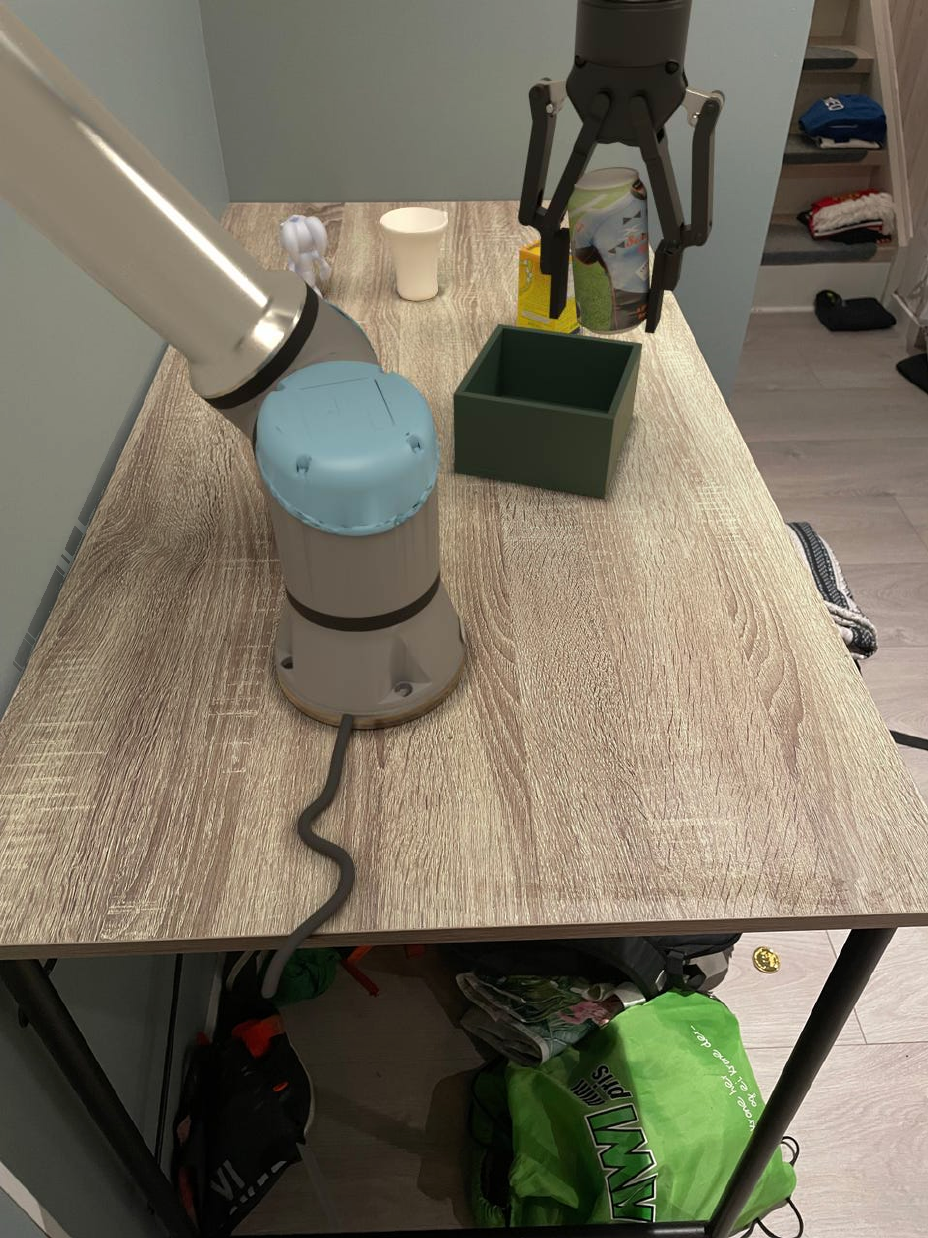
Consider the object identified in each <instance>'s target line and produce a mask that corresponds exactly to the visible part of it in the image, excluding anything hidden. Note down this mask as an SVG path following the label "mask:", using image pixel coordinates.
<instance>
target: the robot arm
mask: <svg viewBox="0 0 928 1238" xmlns="http://www.w3.org/2000/svg"><path fill="white" fill-rule="evenodd" d="M576 3H577V4H576V18H575V19H576V20H575V34H574V35H575V36H574V37H575V38H574V55H573V56H574V59H573V64H572V67H571V70H570V71H569V73H568V75H567V77H564V78H560V79H553V80H552V79H551V78H550V77H542V78H540V80H539V81H537V82H536V83H535V84H534V85H533V86H532V87H531V88H530V89H529V91H528V102H529V109H530V115H531V121H532V122H531V129H530V136H529V142H528V147H527V148H528V149H527V155H526V160H525V161H526V163H525V168H524V175H523V182H522V188H521V195H520V201H519V207H518V213H517V214H518V215H517V221H518V223H519V225H521V226H523V227H528V226H529V227H531V228H532V229H535V230H536V231H537V232H538V233H539V237H540V239H541V247H540V270H541V273H542V274H544V275H551V287H550V307H549V319H556V320H558V318H559V317H560V315H561V314H562V312H563V310H564V309H565V307H566V303H567V287H568V271H569V256H570V232H569V227H564V226H562V223H563V222H564V220H565V217H566V214H567V213H568V208H567V203H568V200H569V198H570V196H571V194H572V192H573V190H574V187H575V186H574V185H575V184H576V183H577V182H578V181H579V180H580V178H581V177H582V176H583V174H584V173H586V171H587V168H588V166H589V163H590V161H591V159H592V157H593V155H594V152H595V150H596V148H597V146H598V144H599V145H600V144H601V145H610V144H616V143H619V144H622V145H624V146H627V147H632V148H639V151H640V156H641V159H642V162H643V163H644V165H645V168H646V172H647V175H648V179H649V184H650V188H651V192H652V196H653V201H654V204H655V208H656V213H657V216H658V220H659V224H660V228H661V229H660V230H661V233H662V236H663V238H661V240H660V242H659V243H658V245H657V248H656V249H655V251H654V256H653V263H652V271H651V277H650V294H649V302H648V310H647V318H646V320H645V327H644V333H646V334H655V333H656V330H657V328H658V325H659V324H660V321H661V318H662V311H663V304H664V297H665V291H668V292H674V290H675V289H676V287H677V285H678V283H679V281H680V279H681V273H682V266H683V260H684V253H685V250H686V249H687V248H690V247H694V246H695V247H698V248H700V247H702V246H704V245H705V244H706V243H707V241H708V239H709V237H710V235H711V232H712V229H713V216H714V215H713V214H714V182H715V155H716V154H715V152H716V151H715V150H716V127H717V125H718V121H719V118H720V116H721V113H722V111H723V107H724V105H725V102H726V95H725V94H724V92H723V91H722V90H720V89H714V90H712V91H711V92H709V91H705V90H701V89H698V88H697V87H696V88H695V87H692V86H689V80H688V78H687V75H686V71H685V70H686V69H685V60H686V58H685V57H686V51H687V44H688V35H689V28H690V18H691V14H692V13H691V12H692V5H693V0H577V2H576ZM565 98H568V100H569V101H570V103H571V104H572V106H573V108H574V110H575V112H576V114H577V115H578V117H579V119H580V121H581V123H582V126H581V128H580V130H579V133H578V135H577V137H576V140H575V142H574V144H573V147H572V151H571V153H570V156H569V158H568V160H567V163H566V165H565V167H564V170H563V172H562V174H561V176H560V178H559V181H558V184H557V186H556V188H555V191H554V193H553V195H552V197H551V200H550V202H549V205H548V207H547V208H546V207H544V206H543V201H544V197H545V190H546V185H547V179H548V173H549V167H550V161H551V155H552V149H553V145H554V137H555V132H556V131H555V130H556V125H557V118H558V114H559V113H560V111H562V109H563V107H564V102H565ZM680 106H683V107H684V108H685V109H686V111H687V112H686V113H687V116H686V117H687V120H686V121H687V123H688V125H689V126H690V127H691V128H694V131H693V136H692V141H691V143H692V144H691V188H690V189H691V192H690V193H691V195H690V197H691V199H690V223H688V224H687V223H686V219H685V215H684V211H683V206H682V202H681V197H680V194H679V189H678V185H677V181H676V176H675V172H674V168H673V167H674V166H673V164H672V159H671V155H670V150H669V138H668V134H667V129H666V123H667V122H668V121H669V120H670V118H671V117H672V116H674V114H675V112H677V110H678V109H679V108H680ZM0 201H1V202H2V203H4V204H5V205H6V206H7V207H9V208H10V209H11V210H12V211H13V212H14V213H15V214H16V215H17V216H19V217H20V218H21V219H22V220H24V222H26V223H28V225H29V226H30V227H32V228H33V229H34V230H35V231H37V232H38V233H39V234H40V235H41V236H42V237H43V238H45V239H46V240H47V242H49V243H50V244H51V245H53V246H54V247H55V248H56V249H58V250H59V251H60V252H61V253H62V254H63V255H64V256H66V257H67V259H69V260H70V261H72V262H73V264H75V265H76V266H78V267H79V269H81V270H82V271H83V272H84V273H85V274H87V275H88V277H90V278H91V279H93V280H94V281H96V283H97V284H98V285H100V286H101V287H102V288H103V289H104V290H105V291H107V292H108V293H109V294H110V295H111V296H113V297H114V298H115V299H116V300H117V301H119V303H121V304H122V306H124V307H125V308H126V309H128V311H130V312H131V313H132V314H134V315H135V316H136V317H137V318H138V319H139V320H141V321H142V322H144V324H145V325H146V326H147V327H149V328H150V329H151V330H153V332H155V333H156V334H157V335H158V336H159V337H161V339H163V340H164V341H165V342H167V344H169V345H170V346H171V347H172V348H173V349H175V350H176V351H177V352H178V353H179V354H180V355H182V356H183V358H185V359H186V360H187V369H188V382H189V385H190V388H191V390H192V391H193V392H194V393H195V394H196V395H197V396H198V397H199V398H201V399H202V400H203V401H205V402H206V403H207V404H208V405H210V407H211V408H213V409H214V410H215V411H217V413H219V414H220V415H221V416H222V417H224V418H225V419H226V420H228V422H230V423H231V424H232V425H233V426H235V427H236V428H237V429H238V430H239V431H240V432H241V433H242V434H243V435H245V437H246V438H247V439H248V440H249V442H250V446H251V449H252V452H253V453H252V454H253V457H254V460H255V463H256V467H257V470H258V474H259V477H260V481H261V484H262V487H263V488H262V489H263V490H264V491H263V492H264V494H265V498H266V502H267V506H268V509H269V513H270V518H271V522H272V527H273V533H274V538H275V543H276V548H277V554H278V559H279V563H280V570H281V573H282V579H283V584H284V589H285V590H284V591H285V597H284V601H283V606H282V609H281V614H280V618H279V622H278V626H277V631H276V634H275V638H274V643H273V660H274V666H275V670H276V675H277V678H278V683H279V685H280V687H281V689H282V691H283V693H284V695H285V696H286V697H287V699H288V700H289V701H290V702H291V703H292V705H294V706H295V707H296V708H297V709H299V711H301V712H302V713H303V714H305V715H307V716H309V717H310V718H312V719H314V720H317V721H319V722H321V723H324V724H327V725H331V726H334V727H338V730H337V735H336V738H335V742H334V746H333V749H332V753H331V758H330V762H329V768H328V773H327V778H326V782H325V784H324V788H323V790H322V791H321V794H319V796H318V797H317V798H316V799H315V800H314V801H313V802H311V803H310V804H309V805H308V806H307V807H306V808H305V809H304V810H303V811H302V813H301V814H300V816H299V817H298V820H297V826H296V827H297V832H298V835H299V837H300V839H301V840H302V842H303V843H305V845H306V846H307V847H310V848H311V849H312V850H315V852H318V853H321V854H323V855H324V856H327V857H329V858H331V859H333V860H334V861H335V862H336V863H338V865H339V866H340V879H339V883H338V885H337V887H336V890H335V891H334V893H333V894H332V895H331V897H330V898H329V899H328V900H327V901H326V902H325V903H324V904H322V905H321V906H320V907H319V908H318V909H317V910H315V912H313V914H311V915H310V916H309V917H307V918H306V919H305V920H304V921H303V922H302V923H301V924H300V925H298V927H296V928H295V929H294V930H293V931H292V932H291V933H290V934H289V935H288V936H287V937H286V939H285V940H284V941H283V942H282V944H280V946H279V947H278V949H277V950H276V952H275V954H274V955H273V957H272V959H271V960H270V963H269V965H268V968H267V970H266V972H265V975H264V978H263V982H262V986H261V991H260V992H261V996H262V998H264V999H266V1000H267V999H270V998H272V997H273V996H274V995H276V992H277V988H278V986H279V982H280V978H281V976H282V973H283V971H284V968H285V966H286V964H287V963H288V961H289V960H290V958H291V957H292V955H293V954H294V953H295V951H296V950H297V949H298V948H299V947H300V946H301V944H303V943H304V941H306V940H307V939H308V938H309V937H311V935H312V934H313V933H314V932H316V930H318V929H319V928H320V927H321V926H323V925H324V924H325V923H326V922H327V921H328V920H329V919H331V917H333V915H335V914H336V913H337V912H338V911H339V910H340V908H341V907H342V906H343V904H344V903H345V902H346V900H347V899H348V897H349V896H350V894H351V892H352V889H353V886H354V882H355V874H356V873H355V872H356V869H355V864H354V860H353V858H352V857H351V855H350V853H348V852H347V851H346V849H344V848H342V846H339V845H338V844H335V843H334V842H332V841H329V840H327V839H325V838H323V837H321V836H320V835H318V834H316V833H315V832H313V830H312V826H311V825H312V824H311V823H312V821H313V820H314V819H315V818H316V817H317V816H318V815H319V814H320V813H322V812H323V811H324V810H325V809H326V808H327V807H328V806H329V805H330V804H331V802H332V801H333V799H334V797H335V795H336V793H337V790H338V787H339V785H340V781H341V778H342V777H341V776H342V772H343V763H344V759H345V755H346V750H347V747H348V743H349V739H350V735H351V731H352V730H375V729H384V728H389V727H394V726H398V725H403V724H404V723H408V722H411V721H413V720H415V719H418V718H420V717H421V716H423V715H426V714H427V713H429V712H431V711H432V710H433V709H435V708H437V706H439V705H440V704H441V703H443V702H444V701H445V700H446V699H447V697H449V696H450V694H451V693H452V692H453V691H454V690H455V688H456V687H457V685H458V683H459V681H460V679H461V678H462V675H463V673H464V669H465V665H466V664H465V663H466V645H467V640H466V633H465V627H464V626H465V625H464V620H463V619H464V618H463V616H462V614H461V612H460V609H459V608H457V609H458V613H457V611H456V609H455V607H454V605H453V602H452V600H451V598H450V596H449V594H448V591H447V589H446V587H445V585H444V583H443V581H442V578H441V553H440V552H441V551H440V513H439V511H440V510H439V509H440V508H439V477H438V476H439V467H440V462H441V456H440V455H441V454H440V448H439V447H440V443H439V440H438V434H437V432H436V428H435V427H436V426H435V421H434V416H433V412H432V410H431V407H430V405H429V403H428V401H427V399H426V398H425V396H424V395H423V394H422V392H421V390H419V388H417V386H416V385H414V384H413V383H412V382H411V381H410V380H409V379H407V378H406V377H404V376H403V375H401V374H399V373H398V372H396V371H390V372H386V373H385V371H384V368H382V367H383V366H381V363H380V361H379V359H378V356H377V353H376V351H375V349H374V348H373V346H372V342H371V340H370V339H369V337H368V335H367V333H366V332H365V331H364V330H363V328H362V327H361V325H359V324H358V323H357V322H356V321H355V319H353V318H352V317H351V315H349V314H348V312H347V313H346V312H345V311H344V310H343V309H342V308H340V307H339V306H338V305H336V304H334V303H332V302H331V301H329V300H327V299H325V298H323V299H322V298H321V297H320V296H319V295H318V294H317V293H316V292H315V291H314V290H313V289H312V288H311V287H310V286H309V285H308V284H307V283H306V281H305V280H304V279H303V278H302V277H301V276H300V275H298V274H297V273H296V272H294V271H291V270H289V269H276V270H275V269H272V270H271V269H270V270H269V269H268V270H266V269H265V267H263V266H262V265H261V263H259V262H258V260H256V258H255V257H254V256H253V255H252V254H250V253H249V251H248V250H247V249H246V248H245V247H244V246H243V245H242V244H241V243H240V242H239V241H238V240H237V239H236V238H235V237H234V236H233V235H232V234H231V233H230V232H229V231H228V230H227V228H225V226H223V225H222V224H221V223H220V221H218V220H217V219H216V218H215V217H214V216H213V215H212V213H211V212H209V211H208V210H207V209H206V208H205V207H204V206H203V204H202V203H201V202H199V200H198V199H197V198H196V197H195V196H194V195H193V193H191V192H190V191H189V190H188V189H187V188H186V187H185V186H184V185H183V184H182V183H181V182H180V181H179V180H178V179H177V178H176V177H175V176H174V175H173V174H172V173H171V172H170V171H169V170H168V169H167V168H166V167H165V166H164V165H163V164H162V163H161V162H160V161H159V160H158V159H157V158H156V156H154V154H152V153H151V151H150V150H148V148H147V147H146V146H144V144H142V142H140V140H139V139H138V138H137V137H136V136H135V135H134V134H133V133H132V132H131V131H130V130H129V129H128V128H127V127H126V126H125V125H124V124H123V123H122V122H121V121H120V120H119V119H118V118H117V117H116V116H115V115H114V114H113V113H112V112H111V111H110V110H109V109H108V108H107V107H106V105H105V104H103V102H102V101H100V100H99V98H98V97H97V96H96V95H94V94H93V93H92V91H91V90H90V89H89V88H88V87H87V86H86V85H85V84H84V83H83V82H82V81H81V80H80V79H79V78H78V77H77V76H76V75H75V74H74V73H73V72H72V71H71V70H70V69H69V68H68V66H66V65H65V64H64V63H63V62H62V61H61V60H60V59H59V58H58V57H57V56H56V55H55V54H54V53H53V51H51V50H50V48H49V47H48V46H47V45H45V43H43V41H42V40H41V39H40V38H39V37H38V36H37V35H36V34H35V33H34V32H33V31H32V30H31V29H30V28H29V27H28V26H27V25H26V24H25V23H24V22H23V21H22V20H21V19H20V18H19V17H18V16H17V15H16V14H15V13H14V12H13V11H12V10H11V9H10V7H8V6H7V5H6V3H5V2H3V1H2V0H0ZM295 1143H296V1147H297V1149H298V1152H299V1154H300V1157H301V1159H302V1161H303V1163H304V1166H305V1168H306V1170H307V1172H308V1175H309V1177H310V1179H311V1182H312V1183H313V1186H314V1188H315V1191H316V1193H317V1195H318V1197H319V1200H320V1202H321V1204H322V1207H323V1209H324V1212H325V1214H326V1217H327V1221H328V1223H329V1226H330V1229H331V1231H333V1232H339V1230H340V1229H341V1221H340V1218H339V1215H338V1212H337V1208H336V1206H335V1203H334V1201H333V1198H332V1196H331V1193H330V1190H329V1188H328V1186H327V1183H326V1181H325V1179H324V1176H323V1174H322V1171H321V1169H320V1166H319V1164H318V1162H317V1159H316V1157H315V1154H314V1152H313V1148H312V1147H310V1146H307V1145H304V1144H302V1143H299V1142H295Z"/></svg>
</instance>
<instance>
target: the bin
mask: <svg viewBox="0 0 928 1238" xmlns="http://www.w3.org/2000/svg"><path fill="white" fill-rule="evenodd" d="M479 351H480V352H479V353H478V354H477V356H476V358H475V359H474V361H473V362H472V364H471V366H470V367H469V368H468V370H467V372H466V374H465V375H464V377H463V378H462V379H461V381H460V382H459V385H458V386H457V387H456V389H455V391H454V392H453V394H452V397H453V398H452V400H453V401H452V402H453V405H452V406H453V459H454V460H453V463H454V466H453V467H454V469H453V471H454V473H456V474H462V475H467V476H473V477H479V478H484V479H490V480H495V481H502V482H507V483H513V484H518V485H523V486H524V485H525V486H530V487H535V488H540V489H546V490H552V491H558V492H563V493H569V494H575V495H580V496H586V497H591V498H597V499H603V500H605V498H606V495H607V493H608V490H609V487H610V484H611V481H612V478H613V475H614V473H615V469H616V467H617V464H618V461H619V458H620V456H621V452H622V449H623V446H624V444H625V441H626V438H627V435H628V433H629V429H630V427H631V424H632V421H633V417H634V416H633V415H634V410H635V402H636V394H637V389H638V388H637V386H638V380H639V373H640V365H641V359H642V351H643V342H642V343H641V342H634V341H627V340H621V339H612V338H606V337H597V336H590V335H584V334H577V333H576V334H570V333H562V332H555V331H548V330H541V329H533V328H526V327H519V326H517V325H513V324H512V325H511V324H503V323H497V325H496V326H495V328H494V329H493V331H492V332H491V334H490V335H489V337H488V339H487V340H486V342H485V344H483V347H482V348H481V350H479Z"/></svg>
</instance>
